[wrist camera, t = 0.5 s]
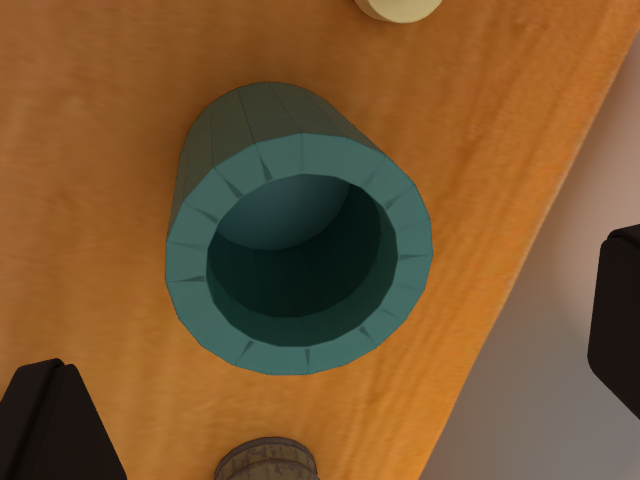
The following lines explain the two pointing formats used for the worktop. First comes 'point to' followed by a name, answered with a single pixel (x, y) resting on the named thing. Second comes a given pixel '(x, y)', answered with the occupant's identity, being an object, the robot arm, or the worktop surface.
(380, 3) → the joystick
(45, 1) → the worktop surface
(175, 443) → the worktop surface
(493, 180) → the worktop surface
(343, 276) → the teal hollow cylinder
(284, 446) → the thermos
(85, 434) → the robot arm
